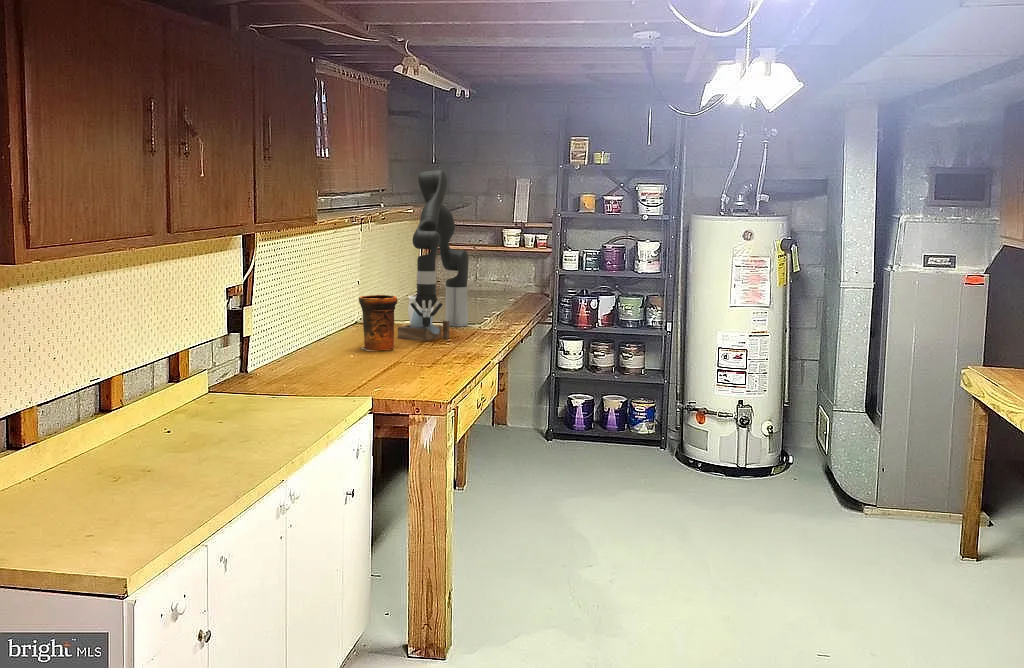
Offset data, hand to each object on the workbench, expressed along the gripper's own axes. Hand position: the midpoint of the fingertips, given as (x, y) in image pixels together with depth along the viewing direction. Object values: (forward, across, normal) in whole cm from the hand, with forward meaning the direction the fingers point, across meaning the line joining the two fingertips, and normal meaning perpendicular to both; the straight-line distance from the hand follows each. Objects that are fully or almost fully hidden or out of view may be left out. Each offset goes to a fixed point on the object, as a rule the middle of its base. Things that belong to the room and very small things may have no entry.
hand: (426, 326), depth 387 cm
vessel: (+7, +19, +10) cm, 23 cm away
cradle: (+6, 0, -7) cm, 9 cm away
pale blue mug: (+5, +1, -5) cm, 8 cm away
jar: (+6, -1, -29) cm, 29 cm away
